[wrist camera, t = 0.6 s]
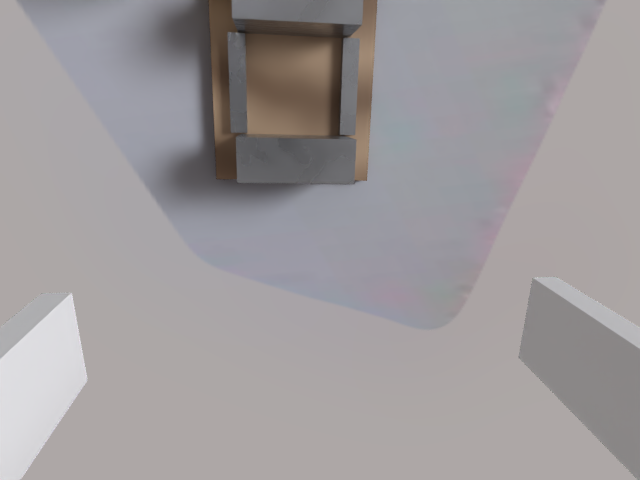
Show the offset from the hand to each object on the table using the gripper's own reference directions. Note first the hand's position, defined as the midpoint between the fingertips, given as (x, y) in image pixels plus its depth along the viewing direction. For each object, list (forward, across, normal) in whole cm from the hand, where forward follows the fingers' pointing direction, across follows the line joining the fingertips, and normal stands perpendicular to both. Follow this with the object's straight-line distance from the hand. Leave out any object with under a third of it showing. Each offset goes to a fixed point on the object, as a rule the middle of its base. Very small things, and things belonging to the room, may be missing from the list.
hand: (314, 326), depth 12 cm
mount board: (+24, 0, +7) cm, 25 cm away
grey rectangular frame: (+24, 0, +7) cm, 25 cm away
